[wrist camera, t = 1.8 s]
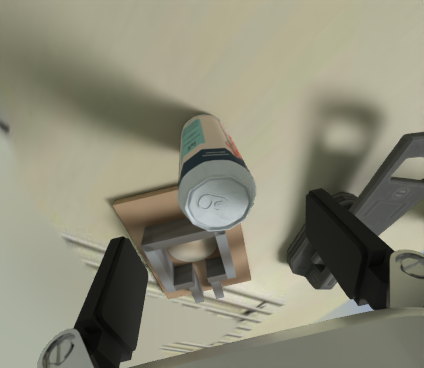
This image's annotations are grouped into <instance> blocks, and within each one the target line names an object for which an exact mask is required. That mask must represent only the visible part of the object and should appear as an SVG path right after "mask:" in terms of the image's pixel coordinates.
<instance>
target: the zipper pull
mask: <svg viewBox="0 0 424 368" xmlns="http://www.w3.org/2000/svg"><path fill="white" fill-rule="evenodd" d="M413 157H424V132H419V133H411V134H405V135H403V136H402V138H401V139H400V140H399V142H398V143H397V145H396V146H395V147H394V149H393V150H392V151H391V153H390V154H389V155H388V157H387V158H386V159H385V161H384V162H383V164H382V165H381V166H380V168H379V169H378V170H377V172H376V173H375V175H374V176H373V178H372V179H371V180H370V182H369V183H368V185H367V186H366V187H365V189H364V190H363V191H362V193H361V194H360V196H359V197H358V198H357V197H356V196H355V195H353V194H344V193H339V194H336V195H333V196H332V197H333V198H334V199H335V200H336V201H337V202H338V203H339V204H340V205H341V206H343V207H344V208H345V209H346V210H349V211H350V212H351V213H352V214H354V215H355V216H356V217H357V218H358V219H359V220H360V221H361V222H362V223H364V224H365V225H366V226H367V227H368V228H369V229H370V230H371V231H372V232H374V233H375V234H376V235H377V236H379V235H380V234H381V233H382V232H383V231H385V230H386V229H387V228H388V227H389V226H391V225H392V224H393V223H394V222H395V221H397V220H398V219H399V218H400V217H401V216H403V215H404V214H405V213H406V212H407V211H408V210H410V209H411V208H412V207H413V206H414V205H416V204H417V203H418V202H419V201H420V200H422V199H423V198H424V179H422V180H415V179H406V178H398V177H391V175H392V174H393V173H394V172H395V170H396V169H397V168H398V167H399V166H400V165H401V164H402V163H403V161H404V160H405V159H407V158H413ZM305 230H306V223H305V224H304V226H303V227H302V229H301V231H300V232H299V234H298V235H297V237H296V238H295V240H294V241H293V243H292V244H291V246H290V247H289V249H288V250H287V262H288V264H289V266H290V268H291V270H292V272H293V273H294V274H297V275H301V276H304V277H306V279H307V280H308V281H309V283H310V284H311V285H312V286H313V287H314V288H315V289H332V288H333V287H334V286H335V284H336V283H337V281H336V279H335V278H334V276H333V275H332V273H331V272H330V271H329V269H328V268H327V266H326V265H325V263H324V262H323V260H322V259H321V258H320V256H319V255H318V253H317V252H316V250H315V249H314V248H313V246H312V245H311V243H310V242H309V240H308V239H307V237H306V232H305Z"/></svg>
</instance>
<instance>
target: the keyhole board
mask: <svg viewBox="0 0 424 368" xmlns="http://www.w3.org/2000/svg"><path fill="white" fill-rule="evenodd" d="M177 194H178V185H177V186H173V187H169V188H165V189H161V190H157V191H152V192H148V193H144V194H140V195H136V196H132V197H127V198H123V199H119V200H115V202H114V204H113V207H114V209H115V211H116V212H117V214H118V216H119V217H120V219H121V221H122V222H123V224H124V226H125V227H126V229H127V231H128V232H129V234H130V236H131V238H132V239H133V241H134V243H135V244H136V246H137V248H138V249H139V251H140V253H141V254H142V256H143V258H144V259H145V261H146V263H147V264H148V266H149V268H150V270H151V271H152V273H153V275H154V276H155V278H156V280H157V281H158V283H159V285H160V286H161V288H162V290H163V291H164V293H165V295H166V296H167V298H168V299H171V298H176V297H180V296H185V295H189V294H192V295H193V297H194V299H195V302H196V303H200V302H204V297H203V291H206V290H211V289H213V291H214V293H215V296H216V299H217V298H222V297H224V294H223V287H224V286H228V285H232V284H237V283H241V282H246V281H250V280H251V275H250V270H249V265H248V260H247V254H246V249H245V244H244V238H243V233H242V228H241V223H239V224H238V225H236V226H234V227H233V228H231V229H230V230H220V231H207V230H205V229H203V228H201V227H198V226H196V225H194V224H192V222H191V221H190V220H189V219H188V218H187V216H186V215H185V214H184V213H183V211H182V210H181V208H180V206H179V203H178V198H177Z"/></svg>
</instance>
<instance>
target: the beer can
mask: <svg viewBox="0 0 424 368" xmlns="http://www.w3.org/2000/svg"><path fill="white" fill-rule="evenodd" d="M255 196H256V185H255V182H254V179H253V177H252V175H251V173H250V172H249V170H248V168H247V166H246V164H245V163H244V161H243V159H242V157H241V155H240V153H239V152H238V150H237V148H236V146H235V144H234V143H233V141H232V139H231V137H230V135H229V133H228V132H227V130H226V128H225V126H224V124H223V123H222V122H221V121H220V120H219V119H218V118H216V117H214V116H212V115H207V114H202V115H197V116H195V117H193V118H191V119H190V120H188V121H187V122H186V124H185V125H184V127H183V129H182V132H181V143H180V161H179V179H178V194H177V198H178V203H179V206H180V208H181V210H182V211H183V213H184V214H185V215H186V216H187V218H188V219H189V220H190V221H191V222H192V224H194V225H196V226H198V227H201V228H203V229H205V230H207V231H220V230H230V229H231V228H233V227H234V226H236V225H238V224H239V223H241V222H243V221H244V220H246V218H247V216H248V214H249V212H250V210H251V208H252V206H253V204H254V203H253V202H254V199H255Z"/></svg>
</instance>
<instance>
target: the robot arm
mask: <svg viewBox="0 0 424 368" xmlns="http://www.w3.org/2000/svg"><path fill="white" fill-rule="evenodd" d="M305 232H306V237H307V239H308V240H309V242H310V243H311V245H312V246H313V248H314V249H315V250H316V252H317V253H318V255H319V256H320V258H321V259H322V260H323V262H324V263H325V265H326V266H327V268H328V269H329V271H330V272H331V273H332V275H333V276H334V278H335V279H336V281H337V282H338V283H339V285H340V286H341V288H342V289H343V291H344V292H345V294H346V295H347V296H348V297H349V298H350V299H354V301H355V302H356V303H357V305H358V306H361V305H365V304H369V305H370V307H371V308H372V309H373V310H374V311H369V312H365V313H359V314H355V315H350V316H345V317H340V318H335V319H331V320H326V321H323V322H318V323H313V324H309V325H305V326H300V327H296V328H292V329H287V330H283V331H279V332H274V333H270V334H266V335H261V336H257V337H253V338H249V339H244V340H240V341H236V342H232V343H227V344H223V345H219V346H215V347H211V348H206V349H202V350H198V351H194V352H190V353H186V354H181V355H177V356H173V357H169V358H165V359H161V360H157V361H153V362H149V363H145V364H141V365H137V366H133V367H129V368H424V254H423V253H420V252H417V251H413V250H398V251H394V250H392V249H391V248H390V247H389V246H388V245H387V244H386V243H385V242H384V241H382V240H381V239H380V238H379V237H378V236H377V235H376V234H375V233H374V232H372V231H371V230H370V229H369V228H368V227H367V226H366V225H365V224H364V223H362V222H361V221H360V220H359V219H358V218H357V217H356V216H355V215H354V214H352V213H351V212H350V211H349V210H346V209H345V208H344V207H343V206H341V205H340V204H339V203H338V202H337V201H336V200H335V199H334V198H333V197H332V196H330V195H329V194H328V193H327V192H326V191H325V190H324V189H322V188H320V189H315V190H311V191H310V192H309V194H307V195H306V230H305ZM147 282H148V271H147V269H146V268H145V266H144V264H143V263H142V261H141V259H140V257H139V256H138V254H137V252H136V250H135V249H134V247H133V245H132V244H131V242H130V240H129V239H128V238H125V237H118V238H114V239H111V241H110V243H109V245H108V247H107V250H106V252H105V255H104V257H103V259H102V262H101V264H100V267H99V269H98V271H97V273H96V276H95V278H94V281H93V283H92V285H91V288H90V290H89V292H88V295H87V297H86V300H85V302H84V305H83V307H82V309H81V311H80V314H79V316H78V319H77V321H76V323H75V326H74V328H73V329H67V330H65V331H62V332H61V333H59V334H58V335H56V336H55V337H54V338H53V339H52V340H51V341H50V342H49V343H48V344H47V345H46V347H45V348H44V349H43V351H42V353H41V355H40V357H39V360H38V363H37V368H119V365H120V362H124V361H128V360H131V357H132V352H133V351H134V350H135V349H136V346H137V340H138V335H139V328H140V323H141V317H142V311H143V305H144V300H145V294H146V288H147Z"/></svg>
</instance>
